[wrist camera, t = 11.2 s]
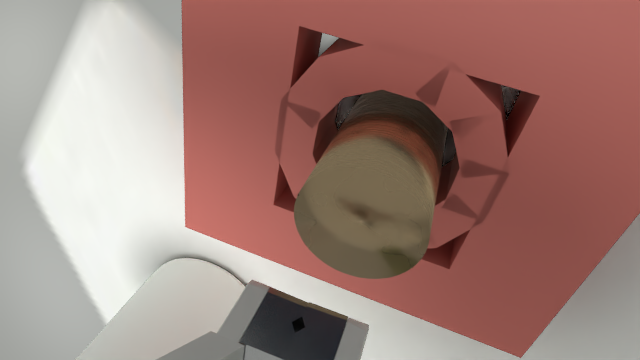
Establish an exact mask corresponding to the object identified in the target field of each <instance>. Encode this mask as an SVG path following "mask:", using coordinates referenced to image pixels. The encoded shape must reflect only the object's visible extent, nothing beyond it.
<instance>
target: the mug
mask: <svg viewBox="0 0 640 360" xmlns="http://www.w3.org/2000/svg"><path fill="white" fill-rule="evenodd" d="M244 289H245V286H244V285H243V284H242V283H241V282H240V281H239V280H238V279H237V278H236V277H235V276H233V275H232V274H230V273H229V272H228V271H226V270H224V269H223V268H221V267H219V266H217V265H215V264H212V263H210V262H207V261H203V260H200V259H194V258H179V259H174V260H171V261H169V262H166V263H165V264H163V265H162V266H161V267H159V268H158V269H157V270H156V271H155V272H154V273H153V274H152V275H151V276H150V277H149V278H148V279H147V280H146V282H145V283H144V284H143V285H142V286H141V287H140V288H139V289H138V290H137V292H136V293H135V294H134V295H133V296H132V297H131V298H130V299H129V300H128V302H127V303H126V304H125V305H124V306H123V307H122V308H121V309H120V310H119V312H118V313H117V314H116V315H115V316H114V317H113V318H112V319H111V320H110V322H109V323H108V324H107V325H106V326H105V327H104V328H103V329H102V330H101V332H100V333H99V334H98V335H97V336H96V337H95V338H94V339H93V341H92V342H91V343H90V344H89V345H88V346H87V347H86V348H85V349H84V351H83V352H82V353H81V354H80V355H79V356H78V357H77V358H76V359H75V360H156V359H158V358H160V357H162V356H164V355H166V354H168V353H169V352H171V351H173V350H175V349H177V348H179V347H181V346H183V345H185V344H187V343H189V342H191V341H193V340H195V339H196V338H198V337H200V336H202V335H204V334H206V333H208V332H210V331H212V332H215V333H217V332H218V330H219V328H220V327H221V325H222V324H223V322H224V320H225V319H226V317H227V316H228V314H229V312H230V311H231V309H232V308H233V306H234V304H235V303H236V301H237V300H238V298H239V297H240V295H241V293H242V292H243V290H244Z"/></svg>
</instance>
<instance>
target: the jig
mask: <svg viewBox="0 0 640 360" xmlns="http://www.w3.org/2000/svg"><path fill="white" fill-rule="evenodd" d="M322 33H325V34H329V35H332V36H335V37H339V39H337V40H336V41H335V42H334V43H333V44H332V45H331V46H330V47H329V48H328V49H327V50H326V51H325V52H324V53H322V54H321V55H320V56H319V57H318V54H319V48H320V42H321V37H322ZM182 54H183V113H184V173H185V227H187V228H189V229H192V230H194V231H197V232H200V233H202V234H205V235H207V236H210V237H212V238H215V239H217V240H220V241H223V242H225V243H228V244H230V245H233V246H235V247H238V248H241V249H243V250H246V251H248V252H251V253H253V254H256V255H259V256H261V257H264V258H266V259H269V260H271V261H274V262H276V263H279V264H282V265H284V266H287V267H289V268H292V269H294V270H297V271H300V272H302V273H305V274H307V275H310V276H312V277H315V278H317V279H320V280H323V281H325V282H328V283H330V284H333V285H335V286H338V287H341V288H343V289H346V290H348V291H351V292H353V293H356V294H359V295H361V296H364V297H366V298H369V299H371V300H374V301H376V302H379V303H382V304H384V305H387V306H389V307H392V308H394V309H397V310H400V311H402V312H405V313H407V314H410V315H412V316H415V317H417V318H420V319H423V320H425V321H428V322H430V323H433V324H435V325H438V326H441V327H443V328H446V329H448V330H451V331H453V332H456V333H459V334H461V335H464V336H466V337H469V338H471V339H474V340H476V341H479V342H482V343H484V344H487V345H489V346H492V347H494V348H497V349H500V350H502V351H505V352H507V353H510V354H512V355H515V356H517V357H520V358H521V357H522V356H523V355H524V353H525V352H526V351H527V350H528V349H529V347H530V346H531V345H532V344H533V342H534V341H535V340H536V339H537V338H538V336H539V335H540V334H541V333H542V332H543V330H544V329H545V328H546V327H547V325H548V324H549V323H550V322H551V321H552V319H553V318H554V317H555V316H556V314H557V313H558V312H559V311H560V310H561V308H562V307H563V306H564V305H565V303H566V302H567V301H568V300H569V299H570V297H571V296H572V295H573V294H574V292H575V291H576V290H577V289H578V288H579V286H580V285H581V284H582V283H583V281H584V280H585V279H586V278H587V277H588V275H589V274H590V273H591V272H592V270H593V269H594V268H595V267H596V266H597V264H598V263H599V262H600V261H601V260H602V258H603V257H604V256H605V255H606V253H607V252H608V251H609V250H610V249H611V247H612V246H613V245H614V244H615V242H616V241H617V240H618V239H619V238H620V236H621V235H622V234H623V233H624V231H625V230H626V229H627V228H628V227H629V225H630V224H631V223H632V222H633V220H634V219H635V218H636V217H637V216H638V214H639V213H640V0H182ZM501 85H504V86H508V87H511V88H514V89H518V90H521V92H520V94H519V96H518V98H517V100H516V102H515V105H514V107H513V109H512V111H511V113H510V115H509V117H508V119H507V121H506V115H505V108H504V101H503V94H502V87H501ZM378 90H385V91H389V92H392V93H395V94H398V95H402V96H405V97H408V98H411V99H415V100H418V101H421V102H424V103H425V104H426V105H427V106H428V107H429V108H430V110H431V111H432V112H433V113H434V114H435V115H436V116H437V117H438V118H439V119H440V120H441V121H442V122H443V123H444V124H445V125H446V126H447V127H448V128H449V129H450V130H451V131H452V133H453V138H454V142H455V147H456V153H455V155H454V158H453V160H452V161H450V162H449V163H447V164H446V165H445V166H443V167H442V168H441V173H440V179H439V185H438V191H437V197H436V203H435V209H434V215H433V221H432V227H431V233H430V239H429V244H428V247H427V250H426V252H425V254H424V256H423V257H422V259H421V260H420V261H419V262H418V263H417V264H416V265H415V266H414V267H413V268H411V269H410V270H408V271H406V272H404V273H402V274H400V275H397V276H394V277H390V278H384V279H366V278H359V277H355V276H351V275H348V274H345V273H342V272H340V271H338V270H335V269H334V268H332V267H330V266H328V265H327V264H325V263H324V262H322V261H321V260H320V259H319V258H317V257H316V256H315V255H314V254H313V253H312V252H311V251H310V250H309V249H308V247H307V246H306V245H305V244H304V242H303V240H302V239H301V237H300V235H299V233H298V231H297V228H296V225H295V220H294V206H295V201H296V198H297V196H298V194H299V192H300V190H301V188H302V187H303V185H304V184H305V182H306V180H307V179H308V177H309V176H310V174H311V172H312V171H313V169H314V168H315V166H316V165H317V163H318V161H319V160H320V158H321V157H322V155H323V153H324V152H325V150H326V149H327V147H328V145H329V144H330V142H331V141H332V139H333V138H334V136H335V134H336V133H337V131H338V130H337V127H336V124H335V119H336V114H337V110H338V105H339V102H340V101H341V100H342V99H343V98H345V97H350V96H354V95H359V94H364V93H368V92H373V91H378Z"/></svg>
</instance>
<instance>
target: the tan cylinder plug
mask: <svg viewBox="0 0 640 360" xmlns="http://www.w3.org/2000/svg"><path fill="white" fill-rule="evenodd" d="M446 137H447V126H446V125H445V124H444V123H443V122H442V121H441V120H440V119H439V118H438V117H437V116H436V115H435V114H434V113H433V112H432V111H431V110H430V108H429V107H428V106H427V105H426V104H425V103H424V102H421V101H418V100H415V99H411V98H408V97H405V96H402V95H398V94H395V93H392V92H389V91H385V90H378V91H373V92H368V93H364V94H362V95H361V96H360V97H359V98H358V100H357V101H356V103H355V104H354V106H353V107H352V109H351V110H350V112H349V114H348V115H347V117H346V118H345V120H344V122H343V123H342V125H341V126H340V128H339V130H338V131H337V133H336V134H335V136H334V138H333V139H332V141H331V142H330V144H329V145H328V147H327V149H326V150H325V152H324V153H323V155H322V157H321V158H320V160H319V161H318V163H317V165H316V166H315V168H314V169H313V171H312V172H311V174H310V176H309V177H308V179H307V180H306V182H305V184H304V185H303V187H302V188H301V190H300V192H299V194H298V196H297V198H296V201H295V206H294V220H295V225H296V228H297V231H298V233H299V235H300V237H301V239H302V240H303V242H304V244H305V245H306V246H307V247H308V249H309V250H310V251H311V252H312V253H313V254H314V255H315V256H316V257H317V258H319V259H320V260H321V261H322V262H324V263H325V264H327V265H328V266H330V267H332V268H334V269H335V270H338V271H340V272H342V273H345V274H348V275H351V276H355V277H359V278H366V279H384V278H390V277H394V276H397V275H400V274H402V273H404V272H406V271H408V270H410V269H411V268H413V267H414V266H415V265H416V264H417V263H418V262H419V261H420V260H421V259H422V257H423V256H424V254H425V252H426V250H427V247H428V244H429V239H430V233H431V227H432V221H433V215H434V209H435V203H436V197H437V191H438V185H439V179H440V173H441V167H442V161H443V155H444V149H445V143H446Z"/></svg>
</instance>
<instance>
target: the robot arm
mask: <svg viewBox="0 0 640 360" xmlns="http://www.w3.org/2000/svg"><path fill="white" fill-rule="evenodd" d="M368 330H369V325H367V324H364V323H362V322H359V321H356V320H354V319H351V318H348V317H347V316H345V315H342V314H339V313H337V312H334V311H331V310H329V309H326V308H323V307H321V306H318V305H315V304H312V303H310V302H309V303H307V302H305V301H303V300H300V299H298V298H295V297H293V296H291V295H288V294H286V293H284V292H281V291H279V290H276V289H274V288H272V287H269V286H267V285H264V284H262V283H259V282H257V281H254V280H251V281H250V282H249V283H248V284H247V285H246V287H245V289H244V290H243V292H242V293H241V295H240V297H239V298H238V300H237V301H236V303H235V304H234V306H233V308H232V309H231V311H230V312H229V314H228V316H227V317H226V319H225V320H224V322H223V324H222V325H221V327H220V328H219V330H218V332H217V333H215V332H212V331H210V332H208V333H206V334H204V335H202V336H200V337H198V338H196V339H195V340H193V341H191V342H189V343H187V344H185V345H183V346H181V347H179V348H177V349H175V350H173V351H171V352H169V353H168V354H166V355H164V356H162V357H160V358H158V359H156V360H360V359H361V355H362V352H363V348H364V344H365V341H366V337H367V334H368Z"/></svg>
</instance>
